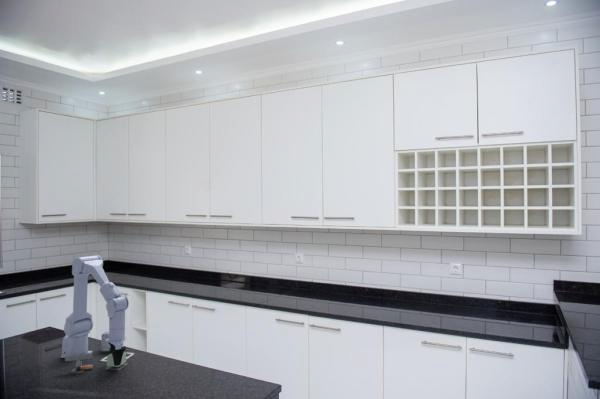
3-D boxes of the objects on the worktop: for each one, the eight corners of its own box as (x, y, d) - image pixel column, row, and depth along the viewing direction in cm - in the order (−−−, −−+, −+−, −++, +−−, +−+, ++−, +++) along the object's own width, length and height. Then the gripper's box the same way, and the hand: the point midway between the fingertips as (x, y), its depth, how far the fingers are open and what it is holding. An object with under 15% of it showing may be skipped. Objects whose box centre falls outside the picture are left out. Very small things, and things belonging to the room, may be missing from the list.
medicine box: (123, 350, 174) (123, 330, 174) (119, 353, 169) (119, 334, 169) (105, 350, 173) (106, 330, 174) (101, 354, 169) (101, 334, 169)
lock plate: (57, 376, 147) (58, 372, 147) (81, 363, 159) (81, 359, 159) (110, 380, 144) (110, 377, 144) (130, 366, 156) (130, 363, 156)
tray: (100, 364, 158) (100, 360, 158) (114, 355, 168) (114, 351, 168) (121, 365, 157) (121, 362, 157) (134, 356, 166) (134, 353, 166)
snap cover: (106, 365, 151) (107, 355, 152) (114, 360, 156) (115, 350, 156) (118, 366, 151) (118, 356, 151) (126, 361, 156) (126, 351, 156)
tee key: (64, 372, 147) (65, 356, 147) (66, 370, 149) (66, 354, 149) (91, 368, 150) (91, 353, 150) (92, 366, 152) (92, 352, 152)
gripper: (105, 323, 158) (104, 357, 158) (106, 334, 145) (106, 370, 145) (123, 321, 162) (123, 353, 161) (127, 331, 149) (126, 366, 149)
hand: (116, 361), depth 154 cm, fingers closed on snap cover, 7 cm apart
